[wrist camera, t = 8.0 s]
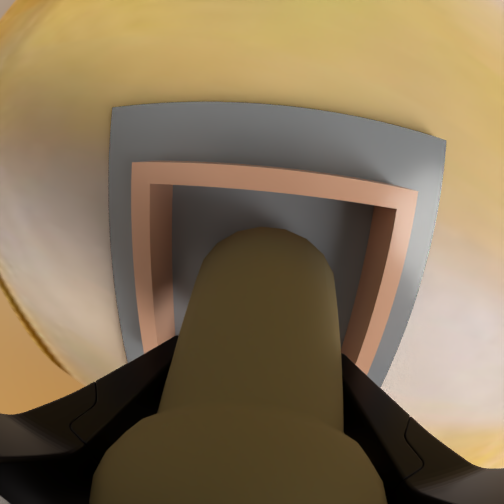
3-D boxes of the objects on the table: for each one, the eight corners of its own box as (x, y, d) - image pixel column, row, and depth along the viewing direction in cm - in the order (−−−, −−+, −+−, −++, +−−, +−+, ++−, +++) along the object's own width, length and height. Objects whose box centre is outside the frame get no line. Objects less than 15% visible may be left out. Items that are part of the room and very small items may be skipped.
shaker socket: (370, 394, 16) (381, 430, 13) (135, 368, 17) (115, 400, 14) (438, 140, 11) (476, 139, 8) (120, 109, 12) (82, 101, 9)
